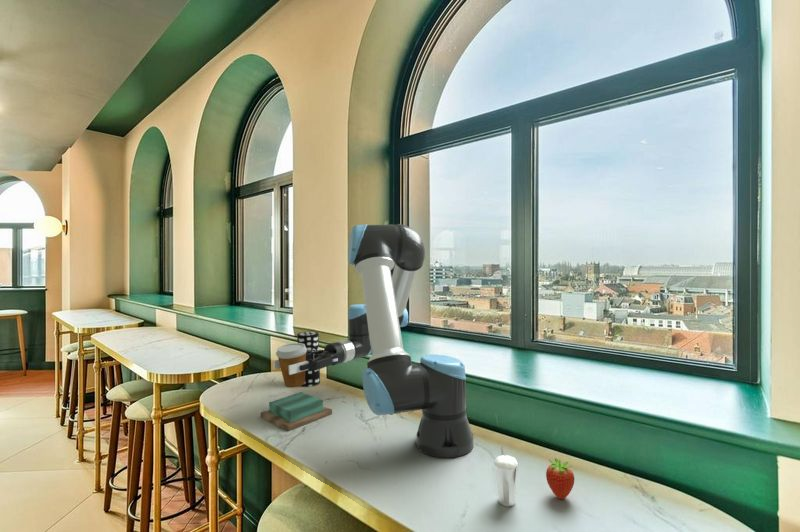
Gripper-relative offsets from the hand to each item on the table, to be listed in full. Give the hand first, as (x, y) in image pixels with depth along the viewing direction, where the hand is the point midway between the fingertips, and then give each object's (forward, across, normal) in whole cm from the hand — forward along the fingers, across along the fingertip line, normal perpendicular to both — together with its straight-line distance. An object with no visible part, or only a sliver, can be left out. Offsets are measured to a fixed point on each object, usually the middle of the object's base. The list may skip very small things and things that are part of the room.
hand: (281, 367), depth 126 cm
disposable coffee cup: (-5, 0, -6) cm, 8 cm away
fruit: (-15, -80, -16) cm, 83 cm away
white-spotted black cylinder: (-27, +24, -17) cm, 40 cm away
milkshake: (-7, -72, -16) cm, 74 cm away
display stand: (-5, 0, -17) cm, 17 cm away
